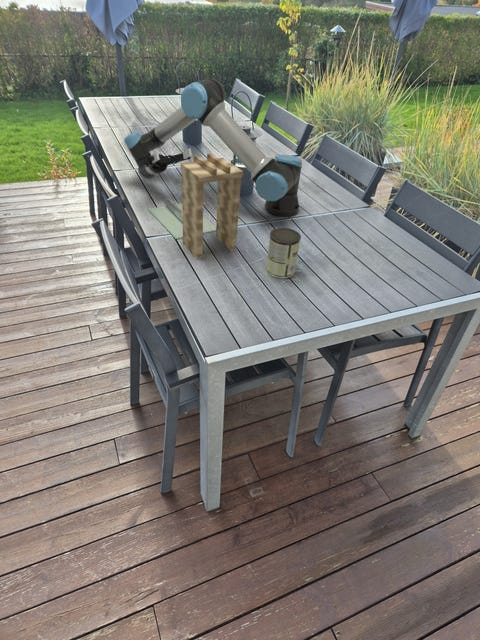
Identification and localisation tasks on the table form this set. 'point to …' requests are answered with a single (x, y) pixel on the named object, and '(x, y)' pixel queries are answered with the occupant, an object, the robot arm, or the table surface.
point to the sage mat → (176, 221)
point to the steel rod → (174, 209)
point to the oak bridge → (226, 201)
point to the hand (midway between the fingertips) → (174, 153)
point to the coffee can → (282, 252)
